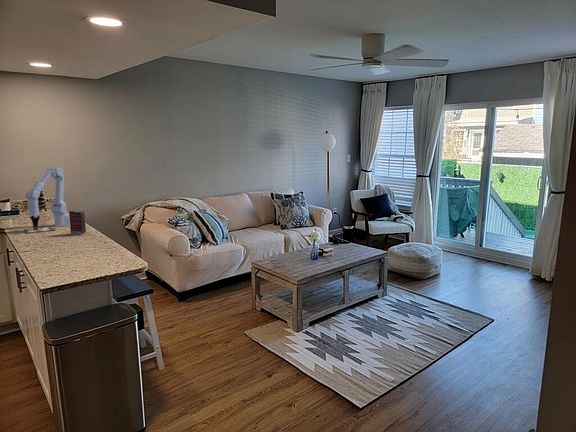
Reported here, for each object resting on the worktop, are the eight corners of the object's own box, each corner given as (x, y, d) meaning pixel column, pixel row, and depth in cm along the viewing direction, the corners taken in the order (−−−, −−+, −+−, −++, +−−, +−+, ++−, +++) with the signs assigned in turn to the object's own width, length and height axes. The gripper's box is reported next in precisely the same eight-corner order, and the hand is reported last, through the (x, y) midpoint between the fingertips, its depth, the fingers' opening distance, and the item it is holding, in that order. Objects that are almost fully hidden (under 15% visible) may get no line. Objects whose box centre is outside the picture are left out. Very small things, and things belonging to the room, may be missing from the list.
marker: (37, 229, 285) (37, 219, 284) (38, 229, 282) (37, 220, 281) (32, 229, 283) (31, 219, 282) (33, 230, 281) (32, 220, 279)
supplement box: (86, 233, 277) (84, 211, 274) (82, 234, 272) (80, 212, 270) (74, 232, 278) (73, 210, 275) (70, 234, 273) (68, 211, 270)
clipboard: (52, 227, 295) (52, 225, 294) (55, 230, 284) (55, 228, 284) (23, 230, 284) (23, 228, 283) (25, 233, 273) (25, 231, 273)
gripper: (25, 206, 283) (27, 225, 286) (28, 209, 272) (30, 228, 274) (37, 205, 288) (39, 224, 290) (40, 208, 276) (41, 227, 279)
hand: (35, 226), depth 282 cm, fingers closed on marker, 3 cm apart
